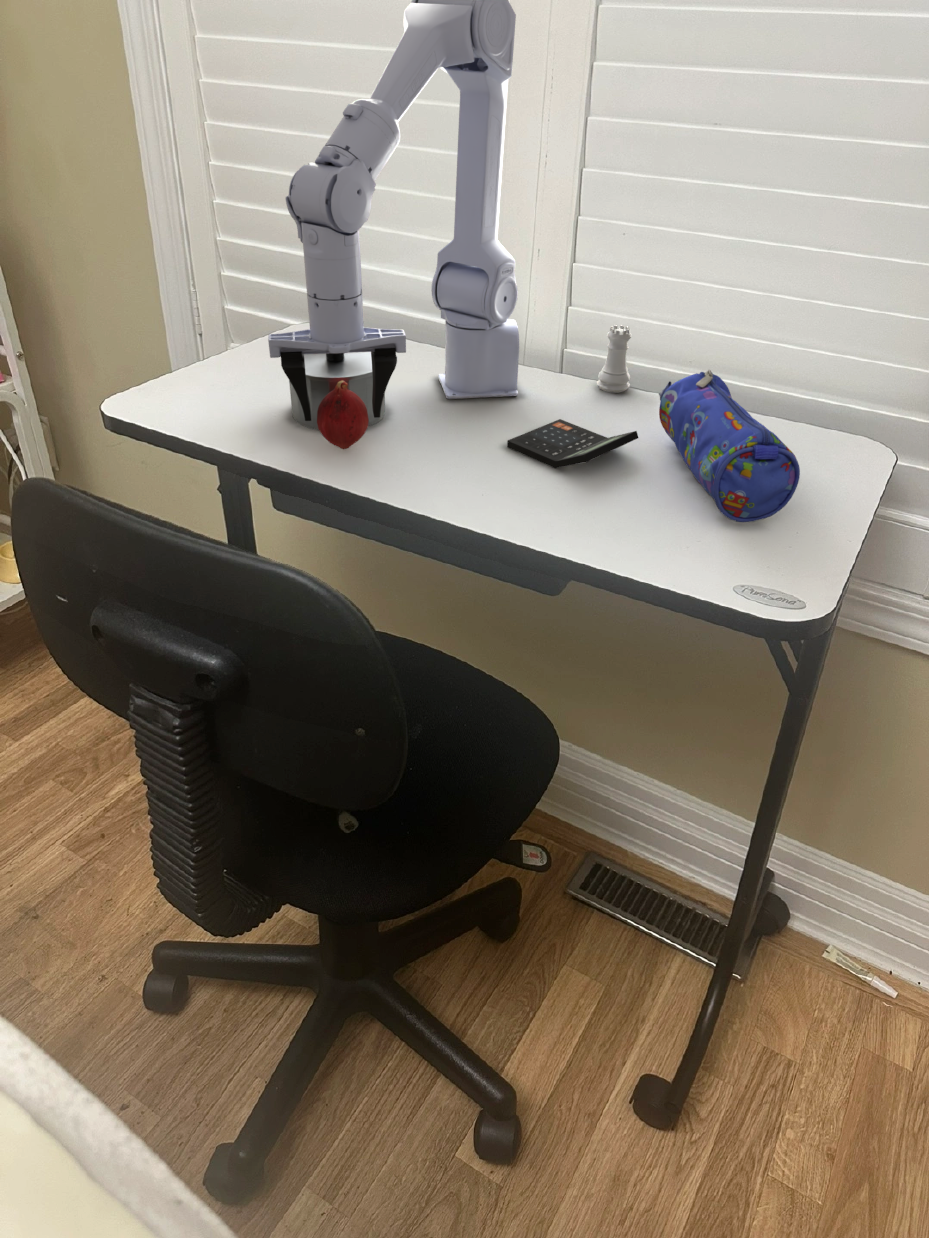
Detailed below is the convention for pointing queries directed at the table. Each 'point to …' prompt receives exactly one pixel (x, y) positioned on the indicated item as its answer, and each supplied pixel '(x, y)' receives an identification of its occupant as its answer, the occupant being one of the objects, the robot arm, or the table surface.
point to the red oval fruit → (342, 417)
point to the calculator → (566, 444)
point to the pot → (322, 388)
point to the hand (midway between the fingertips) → (342, 415)
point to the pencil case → (728, 448)
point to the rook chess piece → (616, 361)
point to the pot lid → (338, 366)
